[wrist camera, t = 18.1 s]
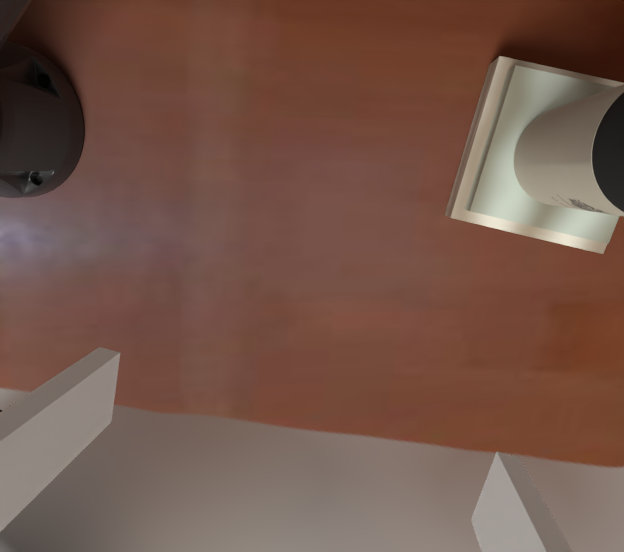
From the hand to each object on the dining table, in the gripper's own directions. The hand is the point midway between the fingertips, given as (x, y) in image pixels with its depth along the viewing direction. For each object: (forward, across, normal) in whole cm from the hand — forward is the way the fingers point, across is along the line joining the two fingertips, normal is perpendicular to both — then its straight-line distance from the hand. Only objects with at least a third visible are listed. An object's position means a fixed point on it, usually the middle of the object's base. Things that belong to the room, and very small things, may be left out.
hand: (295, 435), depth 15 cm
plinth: (+32, +16, +14) cm, 38 cm away
